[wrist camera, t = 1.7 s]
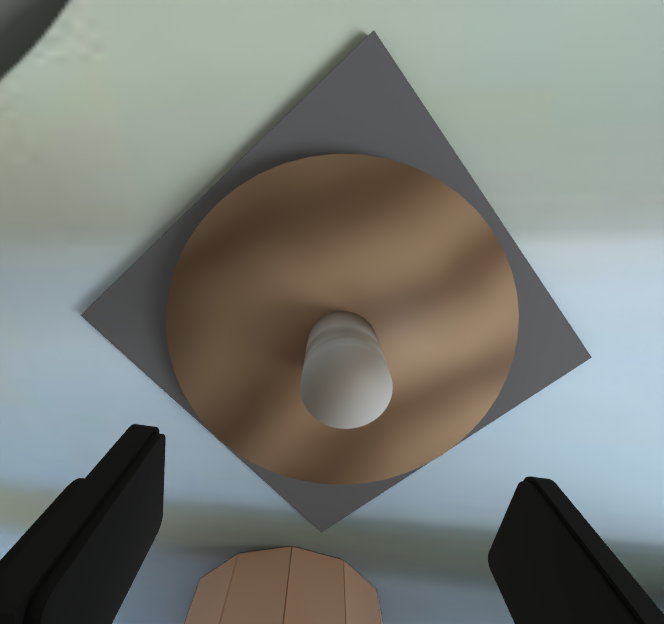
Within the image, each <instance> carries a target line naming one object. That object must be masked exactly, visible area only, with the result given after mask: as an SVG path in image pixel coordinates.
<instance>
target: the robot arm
mask: <svg viewBox="0 0 664 624" xmlns="http://www.w3.org/2000/svg"><path fill="white" fill-rule="evenodd" d="M164 467H165V435H164V434H159V429H158V428H157V427H153V426H145V425H138V424H133V425H131V426H130V427H129V428H128V429H127V430H126V432H125V433H124V434H123V435H122V436H121V437H120V439H119V440H118V441H117V442H116V443H115V444H114V445H113V447H112V448H111V449H110V450H109V451H108V452H107V454H106V455H105V456H104V457H103V458H102V459H101V461H100V462H99V463H98V464H97V465H96V466H95V467H94V469H93V470H92V471H91V472H90V473H89V474H88V476H87V477H86V478H78V479H76V480H74V481H73V482H72V483H71V484H69V485H68V486H67V487H66V488H65V489H64V491H63V492H62V493H61V494H60V495H59V496H58V497H57V498H56V499H55V500H54V502H53V503H52V504H51V505H50V506H49V507H48V508H47V509H46V510H45V512H44V513H43V514H42V515H41V516H40V517H39V518H38V519H37V520H36V521H35V523H34V524H33V525H32V526H31V527H30V528H29V529H28V530H27V531H26V533H25V534H24V535H23V536H22V537H21V538H20V539H19V540H18V541H17V543H16V544H15V545H14V546H13V547H12V548H11V549H10V550H9V551H8V552H7V554H6V555H5V556H4V557H3V558H2V559H1V560H0V624H112V622H113V620H114V618H115V616H116V614H117V612H118V610H119V608H120V606H121V604H122V602H123V600H124V598H125V596H126V594H127V593H128V591H129V589H130V587H131V585H132V583H133V581H134V579H135V577H136V575H137V573H138V571H139V569H140V567H141V565H142V563H143V561H144V559H145V557H146V555H147V553H148V551H149V549H150V547H151V545H152V543H153V541H154V539H155V537H156V535H157V533H158V531H159V528H160V525H161V522H162V517H163V495H164ZM488 562H489V567H490V569H491V572H492V574H493V576H494V579H495V581H496V583H497V585H498V587H499V590H500V592H501V594H502V596H503V598H504V601H505V603H506V605H507V607H508V609H509V612H510V614H511V616H512V618H513V621H514V623H515V624H664V614H663V613H662V612H661V611H660V609H659V608H658V607H657V606H656V605H655V603H654V602H653V601H652V600H651V598H650V597H649V596H648V595H647V594H646V592H645V591H644V590H643V589H642V588H641V586H640V585H639V584H638V583H637V581H636V580H635V579H634V578H633V577H632V575H631V574H630V573H629V572H628V570H627V569H626V568H625V567H624V566H623V564H622V563H621V562H620V561H619V560H618V558H617V557H616V556H615V555H614V553H613V552H612V551H611V550H610V549H609V547H608V546H607V545H606V544H605V543H604V541H603V540H602V539H601V538H600V536H599V535H598V534H597V533H596V532H595V530H594V529H593V528H592V527H591V526H590V524H589V523H588V522H587V521H586V519H585V518H584V517H583V516H582V515H581V513H580V512H579V511H578V510H577V509H576V507H575V506H574V505H573V504H572V502H571V501H570V500H569V499H568V498H567V496H566V495H565V494H564V493H563V492H562V490H561V489H560V488H559V487H558V485H557V484H556V483H555V482H554V481H552V480H550V479H545V478H537V477H526V478H525V479H524V481H523V482H520V483H519V484H518V486H517V488H516V491H515V493H514V495H513V498H512V500H511V502H510V505H509V507H508V509H507V511H506V514H505V516H504V518H503V521H502V523H501V525H500V528H499V530H498V532H497V535H496V537H495V539H494V542H493V544H492V546H491V549H490V551H489V554H488Z"/></svg>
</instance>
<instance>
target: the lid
mask: <svg viewBox="0 0 664 624" xmlns="http://www.w3.org/2000/svg"><path fill="white" fill-rule="evenodd" d="M518 323H519V310H518V298H517V291H516V287H515V282H514V278H513V274H512V270H511V268H510V265H509V263H508V260H507V258H506V255H505V252H504V250H503V248H502V246H501V245H500V243H499V241H498V239H497V238H496V236H495V234H494V233H493V231H492V229H491V228H490V227H489V225H488V224H487V223H486V222H485V220H484V219H483V218H482V216H481V215H480V214H479V213H478V211H477V210H476V209H475V208H474V207H473V206H471V205H470V204H469V203H468V202H467V201H466V200H465V199H464V198H463V197H462V196H461V195H460V194H459V193H457V192H456V191H454V190H453V189H452V188H450V187H449V186H447V185H446V184H444V183H443V182H441V181H440V180H439V179H437V178H435V177H433V176H431V175H429V174H427V173H425V172H423V171H421V170H419V169H417V168H415V167H412V166H409V165H406V164H403V163H400V162H396V161H393V160H390V159H386V158H380V157H374V156H368V155H361V154H330V155H321V156H313V157H307V158H303V159H299V160H296V161H292V162H288V163H284V164H281V165H279V166H277V167H274V168H272V169H270V170H267V171H265V172H263V173H260V174H258V175H257V176H255V177H253V178H252V179H250V180H248V181H247V182H245V183H243V184H242V185H240V186H239V187H237V188H236V189H234V190H233V191H232V192H231V193H229V194H228V195H227V196H226V197H225V198H223V199H222V200H221V201H220V202H219V203H217V204H216V205H215V207H214V208H213V209H212V210H211V211H210V212H209V213H208V214H207V215H206V216H205V218H204V219H203V220H202V221H201V222H200V223H199V225H198V226H197V228H196V229H195V231H194V232H193V234H192V235H191V237H190V238H189V240H188V241H187V243H186V245H185V247H184V249H183V251H182V253H181V255H180V258H179V260H178V262H177V264H176V267H175V270H174V273H173V277H172V280H171V283H170V287H169V293H168V300H167V306H166V335H167V342H168V350H169V355H170V358H171V362H172V366H173V369H174V373H175V375H176V377H177V380H178V382H179V384H180V387H181V389H182V391H183V393H184V395H185V397H186V398H187V400H188V402H189V403H190V405H191V407H192V408H193V410H194V411H195V412H196V414H197V415H198V416H199V418H200V419H201V420H202V422H203V423H204V424H205V425H206V426H207V427H208V428H209V429H210V430H211V431H212V432H213V433H214V434H215V435H216V436H217V438H218V439H219V440H221V441H222V442H223V443H225V444H226V445H227V446H228V447H230V448H231V449H232V450H233V451H235V452H236V453H238V454H239V455H241V456H242V457H244V458H246V459H247V460H249V461H250V462H252V463H254V464H256V465H258V466H260V467H263V468H265V469H267V470H269V471H271V472H274V473H277V474H280V475H283V476H286V477H289V478H293V479H297V480H301V481H306V482H312V483H320V484H335V485H350V484H361V483H369V482H374V481H379V480H384V479H388V478H392V477H395V476H398V475H401V474H404V473H407V472H409V471H412V470H414V469H416V468H419V467H421V466H423V465H425V464H427V463H429V462H430V461H432V460H434V459H436V458H437V457H439V456H441V455H442V454H444V453H445V452H447V451H448V450H449V449H451V448H452V447H453V446H455V445H456V444H458V443H459V442H460V441H461V440H462V439H463V438H464V437H465V436H466V435H467V434H468V433H470V432H471V431H472V430H473V429H474V428H475V426H476V425H477V424H478V423H479V422H480V420H481V419H482V418H483V417H484V416H485V415H486V413H487V412H488V410H489V409H490V407H491V406H492V404H493V403H494V401H495V400H496V398H497V397H498V395H499V393H500V391H501V389H502V387H503V385H504V383H505V381H506V379H507V376H508V373H509V370H510V367H511V364H512V361H513V358H514V353H515V348H516V343H517V338H518Z"/></svg>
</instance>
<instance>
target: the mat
mask: <svg viewBox="0 0 664 624" xmlns="http://www.w3.org/2000/svg"><path fill="white" fill-rule="evenodd" d="M330 154H361V155H368V156H374V157H380V158H386V159H390V160H393V161H396V162H400V163H403V164H406V165H409V166H412V167H415V168H417V169H419V170H421V171H423V172H425V173H427V174H429V175H431V176H433V177H435V178H437V179H439V180H440V181H441V182H443V183H444V184H446V185H447V186H449V187H450V188H452V189H453V190H454V191H456V192H457V193H459V194H460V195H461V196H462V197H463V198H464V199H465V200H466V201H467V202H468V203H469V204H470V205H471V206H473V207H474V208H475V209H476V210H477V211H478V213H479V214H480V215H481V216H482V218H483V219H484V220H485V222H486V223H487V224H488V225H489V227H490V228H491V229H492V231H493V233H494V234H495V236H496V238H497V239H498V241H499V243H500V245H501V246H502V248H503V250H504V252H505V255H506V258H507V260H508V263H509V265H510V268H511V270H512V274H513V278H514V282H515V287H516V291H517V298H518V310H519V323H518V338H517V343H516V348H515V353H514V358H513V361H512V364H511V367H510V370H509V373H508V376H507V379H506V381H505V383H504V385H503V387H502V389H501V391H500V393H499V395H498V397H497V398H496V400H495V401H494V403H493V404H492V406H491V407H490V409H489V410H488V412H487V413H486V415H485V416H484V417H483V418H482V419H481V420H480V422H479V423H478V424H477V425H476V426H475V428H474V429H473V430H472V431H471V432H470V433H468V434H467V435H466V436H465V437H464V438H463V439H462V440H461V441H460V442H462V441H463V440H465V439H466V438H468V437H469V436H471V435H472V434H474V433H476V432H477V431H479V430H480V429H482V428H483V427H485V426H486V425H488V424H489V423H491V422H493V421H494V420H496V419H497V418H499V417H500V416H502V415H503V414H505V413H506V412H508V411H510V410H511V409H513V408H514V407H516V406H517V405H519V404H520V403H522V402H523V401H525V400H527V399H528V398H530V397H531V396H533V395H534V394H536V393H537V392H539V391H540V390H542V389H544V388H545V387H547V386H548V385H550V384H551V383H553V382H554V381H556V380H557V379H559V378H561V377H562V376H564V375H565V374H567V373H568V372H570V371H571V370H573V369H574V368H576V367H578V366H579V365H581V364H582V363H584V362H585V361H587V360H588V359H590V358H591V356H590V354H589V353H588V351H587V350H586V348H585V347H584V345H583V344H582V342H581V341H580V339H579V338H578V336H577V335H576V333H575V332H574V330H573V329H572V327H571V326H570V324H569V323H568V321H567V320H566V318H565V317H564V315H563V314H562V312H561V311H560V309H559V308H558V306H557V305H556V303H555V302H554V300H553V299H552V297H551V296H550V294H549V293H548V291H547V290H546V288H545V287H544V285H543V284H542V282H541V281H540V279H539V278H538V276H537V275H536V273H535V272H534V270H533V269H532V267H531V266H530V264H529V263H528V261H527V260H526V258H525V257H524V255H523V254H522V252H521V251H520V249H519V248H518V246H517V245H516V243H515V242H514V240H513V239H512V237H511V236H510V234H509V233H508V231H507V230H506V228H505V227H504V225H503V224H502V222H501V221H500V219H499V218H498V216H497V214H496V213H495V211H494V210H493V208H492V207H491V205H490V204H489V202H488V201H487V199H486V198H485V196H484V195H483V193H482V192H481V190H480V189H479V187H478V186H477V184H476V183H475V181H474V180H473V178H472V177H471V175H470V174H469V172H468V171H467V169H466V168H465V166H464V165H463V163H462V162H461V160H460V159H459V157H458V156H457V154H456V153H455V151H454V150H453V148H452V147H451V145H450V144H449V142H448V141H447V139H446V138H445V136H444V135H443V133H442V132H441V130H440V129H439V127H438V126H437V124H436V123H435V121H434V120H433V118H432V117H431V115H430V114H429V112H428V111H427V109H426V108H425V106H424V105H423V103H422V102H421V100H420V99H419V97H418V96H417V94H416V93H415V91H414V90H413V88H412V87H411V85H410V84H409V82H408V81H407V79H406V78H405V76H404V75H403V73H402V72H401V70H400V69H399V67H398V66H397V64H396V63H395V61H394V60H393V58H392V57H391V55H390V54H389V52H388V51H387V49H386V48H385V46H384V45H383V43H382V42H381V40H380V39H379V37H378V36H377V34H376V33H375V31H373V32H372V33H371V34H370V35H369V36H367V37H366V38H365V39H364V40H363V41H362V42H361V43H360V44H359V45H358V46H357V47H356V48H355V49H354V50H353V51H352V52H351V53H350V54H349V55H348V56H347V57H346V58H345V59H344V60H343V61H342V62H341V63H340V64H339V65H338V66H337V67H336V68H335V69H334V70H333V71H331V72H330V73H329V74H328V75H327V76H326V77H325V78H324V79H323V80H322V81H321V82H320V83H319V84H318V85H317V86H316V87H315V88H314V89H313V90H312V91H311V92H310V93H309V94H308V95H307V96H306V97H305V98H304V99H303V100H302V101H301V102H300V103H299V104H298V105H297V106H295V107H294V108H293V109H292V110H291V111H290V112H289V113H288V114H287V115H286V116H285V117H284V118H283V119H282V120H281V121H280V122H279V123H278V124H277V125H276V126H275V127H274V128H273V129H272V130H271V131H270V132H269V133H268V134H267V135H266V136H265V137H264V138H263V139H262V140H261V141H259V142H258V143H257V144H256V145H255V146H254V147H253V148H252V149H251V150H250V151H249V152H248V153H247V154H246V155H245V156H244V157H243V158H242V159H241V160H240V161H239V162H238V163H237V164H236V165H235V166H234V167H233V168H232V169H231V170H230V171H229V172H228V173H227V174H226V175H225V176H223V177H222V178H221V179H220V180H219V181H218V182H217V183H216V184H215V185H214V186H213V187H212V188H211V189H210V190H209V191H208V192H207V193H206V194H205V195H204V196H203V197H202V198H201V199H200V200H199V201H198V202H197V203H196V204H195V205H194V206H193V207H192V208H191V209H190V210H188V211H187V212H186V213H185V214H184V215H183V216H182V217H181V218H180V219H179V220H178V221H177V222H176V223H175V224H174V225H173V226H172V227H171V228H170V229H169V230H168V231H167V232H166V233H165V234H164V235H163V236H162V237H161V238H160V239H159V240H158V241H157V242H156V243H155V244H154V245H152V246H151V247H150V248H149V249H148V250H147V251H146V252H145V253H144V254H143V255H142V256H141V257H140V258H139V259H138V260H137V261H136V262H135V263H134V264H133V265H132V266H131V267H130V268H129V269H128V270H127V271H126V272H125V273H124V274H123V275H122V276H121V277H120V278H119V279H118V280H116V281H115V282H114V283H113V284H112V285H111V286H110V287H109V288H108V289H107V290H106V291H105V292H104V293H103V294H102V295H101V296H100V297H99V298H98V299H97V300H96V301H95V302H94V303H93V304H92V305H91V306H90V307H89V308H88V309H87V310H86V311H85V312H84V313H83V314H82V315H81V316H82V317H83V318H84V319H85V320H86V321H87V322H89V323H90V324H91V325H92V326H93V327H94V328H95V329H96V330H97V331H99V332H100V333H101V334H102V335H103V336H104V337H105V338H106V339H107V340H109V341H110V342H111V343H112V344H113V345H114V346H115V347H116V348H117V349H119V350H120V351H121V352H122V353H123V354H124V355H125V356H126V357H127V358H129V359H130V360H131V361H132V362H133V363H134V364H135V365H136V366H137V367H139V368H140V369H141V370H142V371H143V372H144V373H145V374H146V375H147V376H148V377H150V378H151V379H152V380H153V381H154V382H155V383H156V384H157V385H158V386H160V387H161V388H162V389H163V390H164V391H165V392H166V393H167V394H168V395H170V396H171V397H172V398H173V399H174V400H175V401H176V402H177V403H178V404H180V405H181V406H182V407H183V408H184V409H185V410H186V411H187V412H188V413H190V414H191V415H192V416H193V417H194V418H195V419H196V420H197V421H198V422H200V423H201V424H202V425H203V426H204V427H205V428H206V429H207V430H208V431H210V432H211V433H212V434H213V435H214V436H215V437H216V438H217V436H216V435H215V434H214V433H213V432H212V431H211V430H210V429H209V428H208V427H207V426H206V425H205V424H204V423H203V422H202V420H201V419H200V418H199V416H198V415H197V414H196V412H195V411H194V410H193V408H192V407H191V405H190V403H189V402H188V400H187V398H186V397H185V395H184V393H183V391H182V389H181V387H180V384H179V382H178V380H177V377H176V375H175V373H174V369H173V366H172V362H171V358H170V355H169V350H168V342H167V335H166V306H167V300H168V293H169V287H170V283H171V280H172V277H173V273H174V270H175V267H176V264H177V262H178V260H179V258H180V255H181V253H182V251H183V249H184V247H185V245H186V243H187V241H188V240H189V238H190V237H191V235H192V234H193V232H194V231H195V229H196V228H197V226H198V225H199V223H200V222H201V221H202V220H203V219H204V218H205V216H206V215H207V214H208V213H209V212H210V211H211V210H212V209H213V208H214V207H215V205H216V204H217V203H219V202H220V201H221V200H222V199H223V198H225V197H226V196H227V195H228V194H229V193H231V192H232V191H233V190H234V189H236V188H237V187H239V186H240V185H242V184H243V183H245V182H247V181H248V180H250V179H252V178H253V177H255V176H257V175H258V174H260V173H263V172H265V171H267V170H270V169H272V168H274V167H277V166H279V165H281V164H284V163H288V162H292V161H296V160H299V159H303V158H307V157H313V156H321V155H330ZM217 439H218V438H217ZM218 440H219V439H218ZM219 441H221V440H219ZM221 442H222V441H221ZM460 442H459V443H460ZM222 443H223V442H222ZM459 443H458V444H459ZM223 444H224V445H225V446H226V447H227V448H228V449H229V450H231V451H232V452H233V453H234V454H235V455H236V456H237V457H238V458H239V459H241V460H242V461H243V462H244V463H245V464H246V465H247V466H248V467H249V468H251V469H252V470H253V471H254V472H255V473H256V474H257V475H258V476H259V477H261V478H262V479H263V480H264V481H265V482H266V483H267V484H268V485H269V486H271V487H272V488H273V489H274V490H275V491H276V492H277V493H278V494H279V495H281V496H282V497H283V498H284V499H285V500H286V501H287V502H288V503H289V504H290V505H292V506H293V507H294V508H295V509H296V510H297V511H298V512H299V513H300V514H302V515H303V516H304V517H305V518H306V519H307V520H308V521H309V522H310V523H312V524H313V525H314V526H315V527H316V528H317V529H318V530H319V531H320V532H323V531H324V530H326V529H327V528H329V527H330V526H332V525H333V524H335V523H336V522H338V521H340V520H341V519H343V518H344V517H346V516H347V515H349V514H350V513H352V512H353V511H355V510H357V509H358V508H360V507H361V506H363V505H364V504H366V503H367V502H369V501H370V500H372V499H374V498H375V497H377V496H378V495H380V494H381V493H383V492H384V491H386V490H387V489H389V488H391V487H392V486H394V485H395V484H397V483H398V482H400V481H401V480H403V479H404V478H406V477H408V476H409V475H411V474H412V473H414V472H415V471H417V470H418V469H420V468H421V467H423V466H425V465H426V464H425V465H423V466H421V467H419V468H416V469H414V470H412V471H409V472H407V473H404V474H401V475H398V476H395V477H392V478H388V479H384V480H379V481H374V482H369V483H361V484H350V485H335V484H320V483H312V482H306V481H301V480H297V479H293V478H289V477H286V476H283V475H280V474H277V473H274V472H271V471H269V470H267V469H265V468H263V467H260V466H258V465H256V464H254V463H252V462H250V461H249V460H247V459H246V458H244V457H242V456H241V455H239V454H238V453H236V452H235V451H233V450H232V449H231V448H230V447H228V446H227V445H226V444H225V443H223ZM456 445H457V444H456ZM453 447H454V446H453ZM430 462H431V461H430ZM427 464H428V463H427Z"/></svg>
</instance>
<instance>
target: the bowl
mask: <svg viewBox="0 0 664 624" xmlns="http://www.w3.org/2000/svg"><path fill="white" fill-rule="evenodd" d="M184 624H383V620H382V615H381V609H380V604H379V599H378V593H377V590H376V589H375V588H374V587H373V586H372V585H371V584H370V583H369V582H367V581H366V580H365V579H364V578H363V577H362V576H361V575H360V574H359V573H357V572H356V571H355V570H354V569H353V568H352V567H351V566H350V565H348V564H347V563H346V562H345V561H343V560H341V559H337V558H334V557H330V556H326V555H322V554H319V553H315V552H311V551H308V550H304V549H300V548H296V547H293V546H292V547H291V546H290V547H283V548H275V549H268V550H261V551H253V552H246V553H239V554H237V555H235V556H234V557H232V558H231V559H229V560H228V561H226V562H225V563H223V564H222V565H220V566H219V567H217V568H216V569H214V570H213V571H211V572H210V573H208V574H207V575H205V576H204V577H202V578H201V579H200V581H199V584H198V586H197V589H196V592H195V595H194V598H193V601H192V603H191V606H190V609H189V612H188V615H187V618H186V621H185V623H184Z"/></svg>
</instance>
